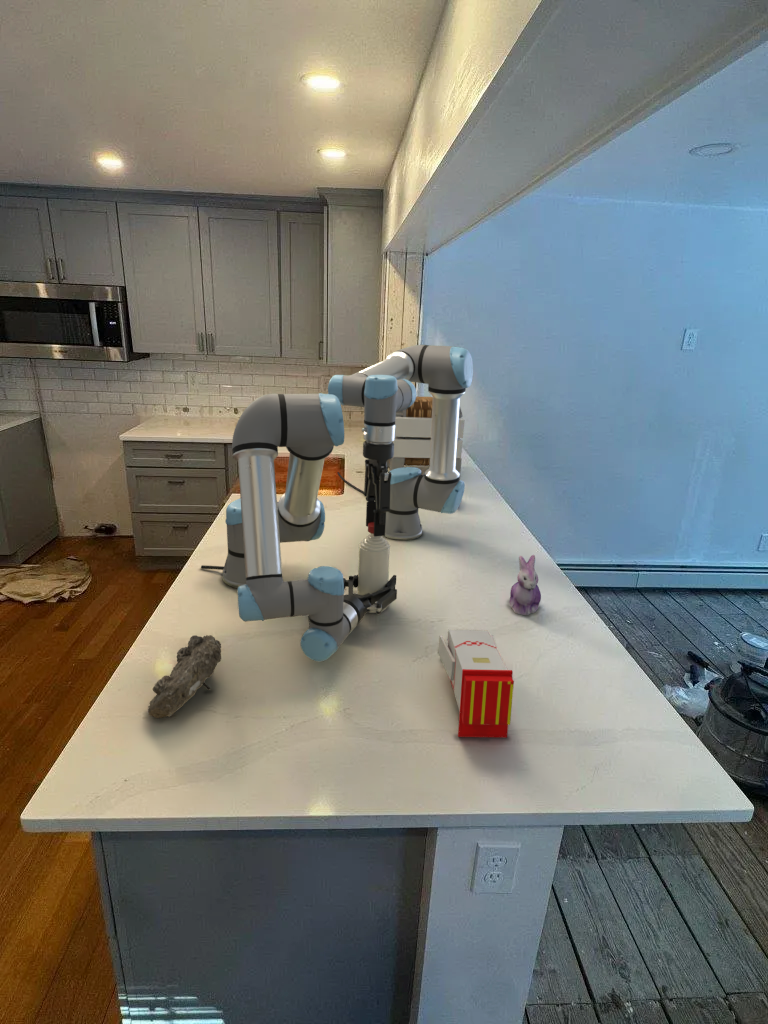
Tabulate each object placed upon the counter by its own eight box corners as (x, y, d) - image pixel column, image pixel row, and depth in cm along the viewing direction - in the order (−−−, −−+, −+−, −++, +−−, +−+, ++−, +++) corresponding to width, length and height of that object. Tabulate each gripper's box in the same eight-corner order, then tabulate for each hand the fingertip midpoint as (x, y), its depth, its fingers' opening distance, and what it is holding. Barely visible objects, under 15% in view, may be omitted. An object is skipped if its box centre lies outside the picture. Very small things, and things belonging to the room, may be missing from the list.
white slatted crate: (382, 463, 289) (386, 382, 275) (445, 464, 293) (451, 384, 279) (390, 482, 257) (394, 392, 243) (460, 483, 261) (468, 394, 247)
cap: (384, 529, 145) (384, 523, 145) (379, 534, 142) (379, 528, 141) (370, 527, 146) (371, 521, 146) (365, 532, 143) (365, 525, 142)
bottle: (352, 609, 149) (355, 529, 141) (362, 595, 156) (365, 519, 148) (382, 615, 147) (386, 534, 139) (390, 600, 154) (394, 523, 146)
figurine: (523, 619, 147) (531, 567, 142) (498, 602, 156) (505, 552, 150) (551, 612, 151) (559, 561, 146) (525, 595, 160) (532, 546, 155)
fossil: (175, 637, 125) (222, 606, 120) (205, 666, 128) (253, 637, 123) (125, 712, 105) (179, 678, 100) (162, 744, 108) (217, 713, 103)
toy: (488, 613, 130) (523, 677, 101) (484, 667, 133) (517, 744, 104) (435, 612, 130) (455, 676, 101) (432, 666, 133) (451, 743, 103)
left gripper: (305, 619, 138) (344, 581, 158) (385, 639, 131) (415, 596, 151) (304, 592, 135) (344, 556, 155) (386, 610, 129) (417, 571, 149)
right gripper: (353, 433, 144) (351, 518, 151) (376, 451, 127) (372, 546, 134) (381, 432, 146) (377, 516, 154) (407, 450, 129) (401, 543, 137)
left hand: (379, 576), depth 153 cm, fingers closed on bottle, 8 cm apart
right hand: (375, 530), depth 144 cm, fingers open, 6 cm apart
